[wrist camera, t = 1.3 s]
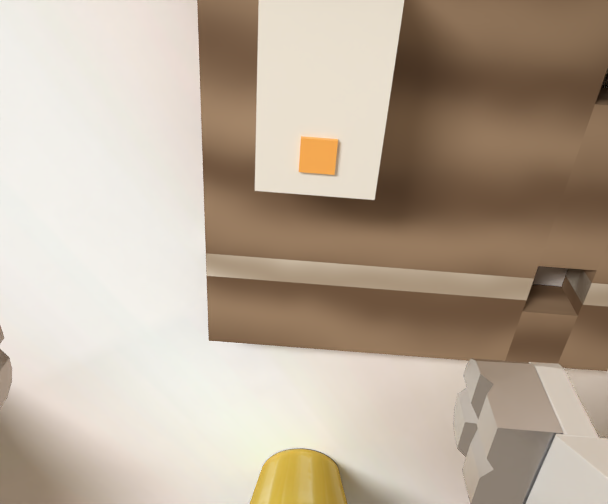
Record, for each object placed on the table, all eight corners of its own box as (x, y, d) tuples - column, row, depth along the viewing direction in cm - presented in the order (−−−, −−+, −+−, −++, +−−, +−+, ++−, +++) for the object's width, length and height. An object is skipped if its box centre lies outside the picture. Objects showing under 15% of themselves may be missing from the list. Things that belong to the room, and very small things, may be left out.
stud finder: (269, -40, 25) (258, -24, 21) (395, -31, 25) (406, -13, 21) (264, 151, 30) (254, 192, 26) (369, 159, 30) (374, 202, 26)
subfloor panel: (207, -89, 27) (194, -86, 24) (762, -46, 27) (806, -38, 24) (216, 311, 40) (208, 340, 38) (589, 339, 40) (606, 371, 38)
